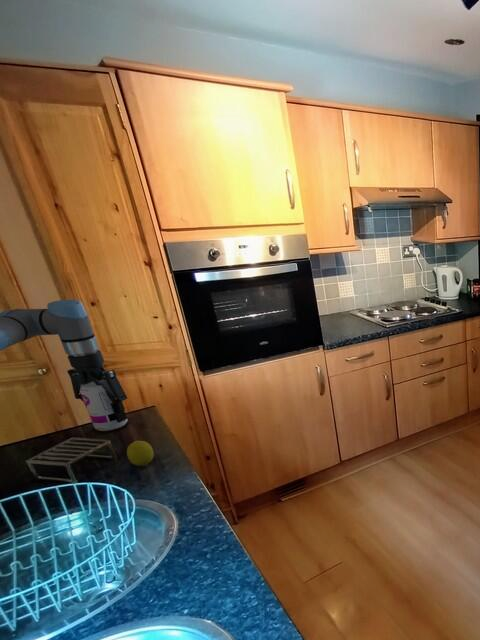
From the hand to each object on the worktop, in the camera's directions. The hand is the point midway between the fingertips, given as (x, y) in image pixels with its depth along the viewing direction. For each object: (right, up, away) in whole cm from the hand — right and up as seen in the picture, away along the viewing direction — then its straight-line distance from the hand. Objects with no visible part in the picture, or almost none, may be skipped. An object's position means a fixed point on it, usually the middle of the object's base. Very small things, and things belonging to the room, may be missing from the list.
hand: (109, 419), depth 144 cm
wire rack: (+10, -13, -21) cm, 27 cm away
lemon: (+26, -12, -18) cm, 34 cm away
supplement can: (0, -2, +1) cm, 2 cm away
